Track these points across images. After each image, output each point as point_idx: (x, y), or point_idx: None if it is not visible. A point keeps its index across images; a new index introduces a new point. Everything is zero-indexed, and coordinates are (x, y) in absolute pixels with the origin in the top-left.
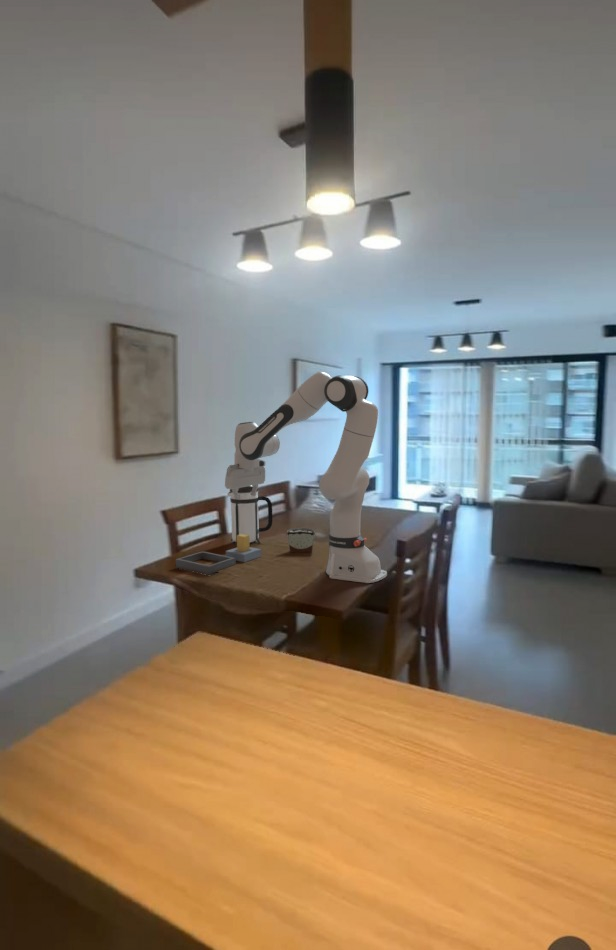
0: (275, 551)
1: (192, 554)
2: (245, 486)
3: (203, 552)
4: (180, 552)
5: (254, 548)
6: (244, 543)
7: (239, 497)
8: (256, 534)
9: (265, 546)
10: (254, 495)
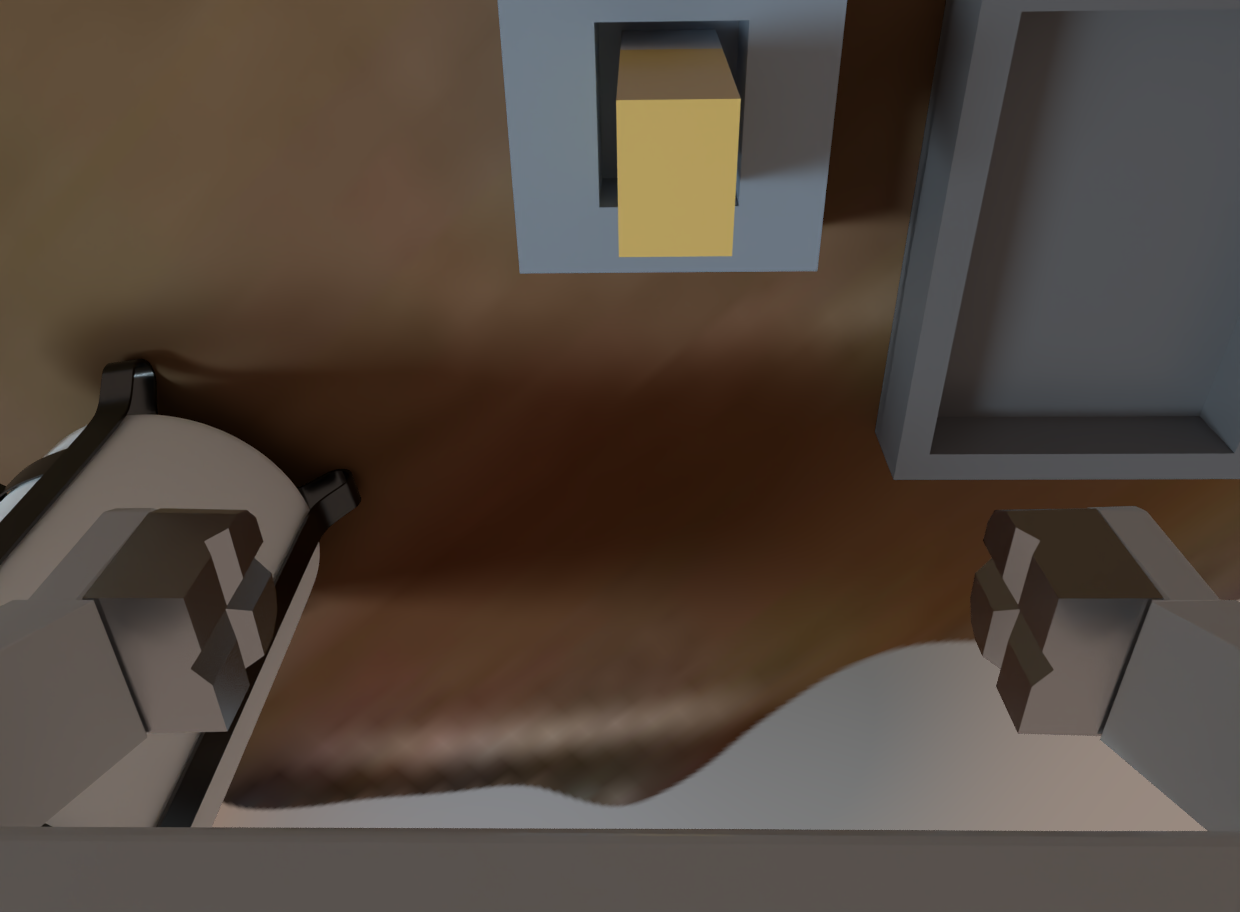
0: (147, 9)
1: (1040, 473)
2: (933, 836)
3: (931, 442)
4: (777, 693)
5: (522, 48)
6: (730, 73)
7: (1056, 530)
8: (97, 441)
9: (110, 267)
10: (188, 511)
